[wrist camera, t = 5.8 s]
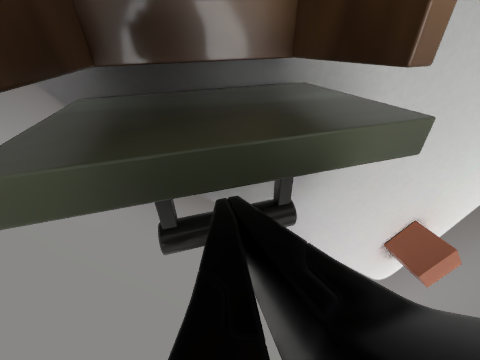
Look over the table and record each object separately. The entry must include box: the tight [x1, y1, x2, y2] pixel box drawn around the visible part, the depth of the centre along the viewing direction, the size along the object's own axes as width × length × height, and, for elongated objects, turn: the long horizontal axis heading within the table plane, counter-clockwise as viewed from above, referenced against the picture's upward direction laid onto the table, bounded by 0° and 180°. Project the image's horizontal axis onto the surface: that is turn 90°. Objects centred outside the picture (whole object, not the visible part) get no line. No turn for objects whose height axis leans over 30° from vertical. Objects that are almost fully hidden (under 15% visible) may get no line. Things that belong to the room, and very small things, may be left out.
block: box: [384, 221, 461, 287], centre depth 25 cm, size 4×4×4 cm
